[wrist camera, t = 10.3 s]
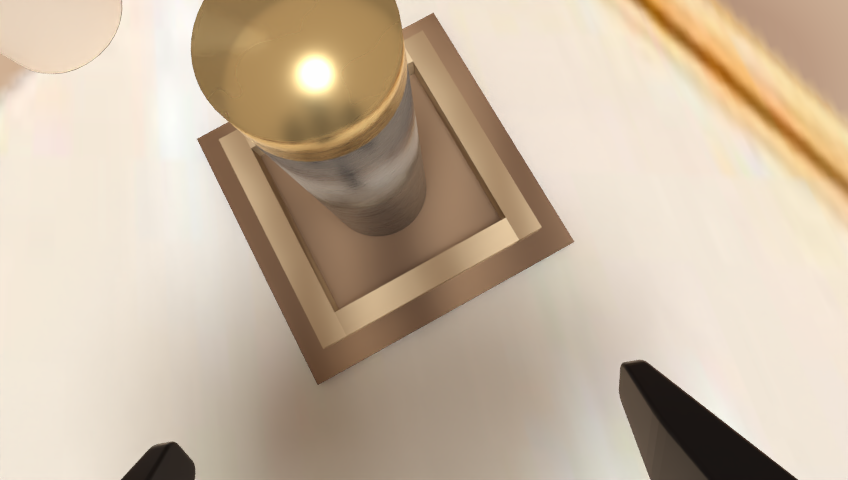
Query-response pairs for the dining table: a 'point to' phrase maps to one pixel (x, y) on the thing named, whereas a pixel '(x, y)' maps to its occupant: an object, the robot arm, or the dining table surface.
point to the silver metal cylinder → (320, 99)
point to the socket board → (407, 249)
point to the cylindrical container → (56, 32)
